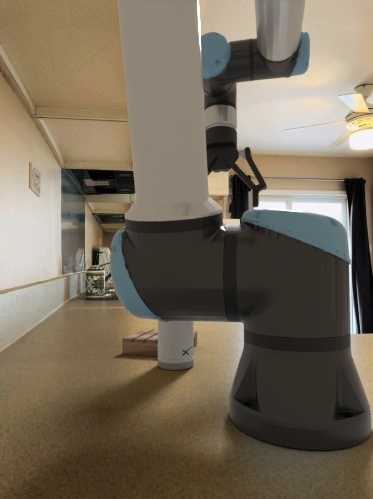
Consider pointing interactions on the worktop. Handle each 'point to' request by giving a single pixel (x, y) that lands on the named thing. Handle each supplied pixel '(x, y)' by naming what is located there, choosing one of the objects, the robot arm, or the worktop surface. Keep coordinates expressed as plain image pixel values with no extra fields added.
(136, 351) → the pallet dock
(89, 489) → the worktop surface
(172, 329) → the travel mug
